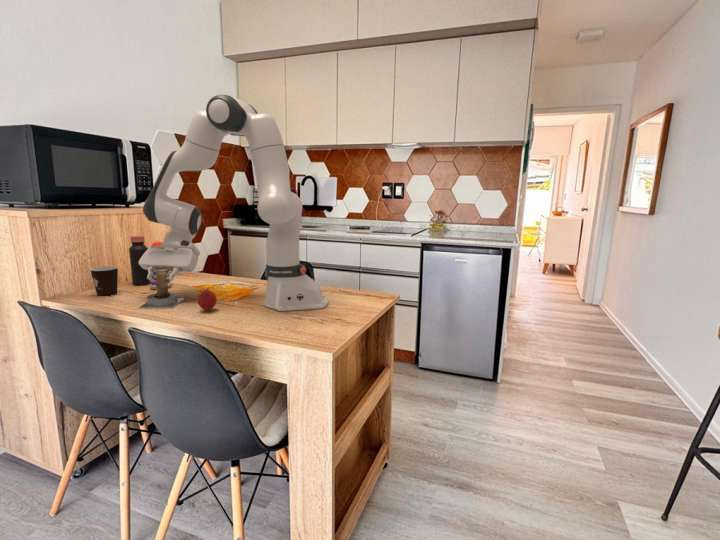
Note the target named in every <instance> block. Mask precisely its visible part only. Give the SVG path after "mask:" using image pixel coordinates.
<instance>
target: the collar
mask: <svg viewBox="0 0 720 540" xmlns="http://www.w3.org/2000/svg"><path fill="white" fill-rule="evenodd" d="M185 299H186V298H185V297H178V293H176V292H171V291H168V297H162V298H157V292H156V293H152V294H149V295H148V296H146V301H147V302H145V303H144V304H142V305H141V306H139V307H138V309H139V308H147V309H174V308H175V307H177V306H178V305H179V304H181V303H182V302H184V301H185ZM181 301H182V302H181ZM180 302H181V303H180ZM177 304H178V305H177ZM176 305H177V306H176Z"/></svg>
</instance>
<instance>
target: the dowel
mask: <svg viewBox="0 0 720 540" xmlns="http://www.w3.org/2000/svg"><path fill="white" fill-rule="evenodd" d="M155 275H156V289H155V290H156V293H157V298H162V297H168V292H169V288H168V280H167V279H166V277H167V268H156V269H155Z"/></svg>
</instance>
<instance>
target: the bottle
mask: <svg viewBox="0 0 720 540" xmlns="http://www.w3.org/2000/svg"><path fill="white" fill-rule="evenodd" d="M129 238H130V244H131V246H130V247H129V248H128V253H129V254H128V255H129V263H130V272H131V279H132V285H133V286H135V287H136V286H137V287H140V286H142V287H143V286H147V285H150V284H151V283H150V280H149V279H148V278H147V276H148V274H149V273H148V270H147V269H143V268H142V267H141V266H140V265H139V260H140V258H141V257H142V255H143V254H144V253H145V252H146V250H147V249H148V247H147V246H146V245H145V236H144V235H131V236H130V237H129Z"/></svg>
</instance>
